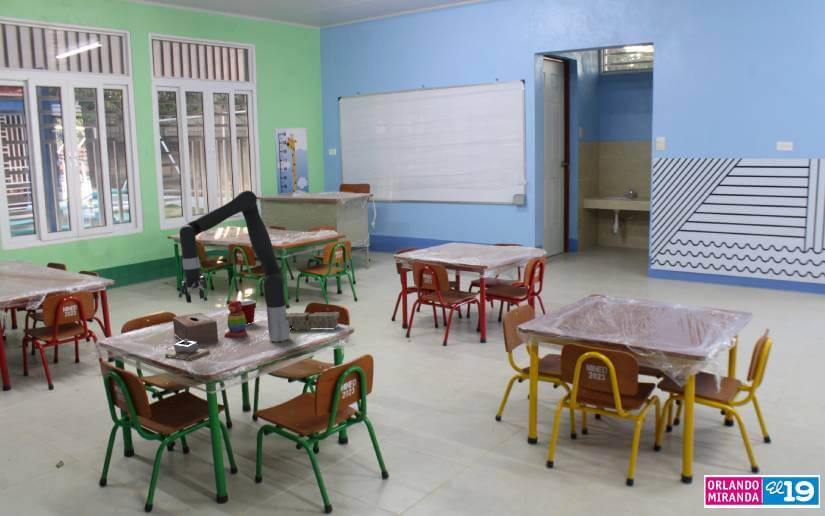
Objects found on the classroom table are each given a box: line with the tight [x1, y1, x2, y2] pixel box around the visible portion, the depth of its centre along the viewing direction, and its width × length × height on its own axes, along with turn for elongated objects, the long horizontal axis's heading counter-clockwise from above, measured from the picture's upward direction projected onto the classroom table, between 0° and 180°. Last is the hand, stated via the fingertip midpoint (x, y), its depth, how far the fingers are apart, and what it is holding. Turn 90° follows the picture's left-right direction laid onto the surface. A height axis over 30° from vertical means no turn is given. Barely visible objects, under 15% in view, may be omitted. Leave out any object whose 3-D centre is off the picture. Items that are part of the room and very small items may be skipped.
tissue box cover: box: [172, 312, 219, 345], centre depth 367 cm, size 26×14×10 cm, turn 34°
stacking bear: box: [224, 300, 248, 339], centre depth 369 cm, size 11×10×18 cm
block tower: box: [286, 311, 340, 330], centre depth 376 cm, size 8×8×29 cm
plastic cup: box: [241, 299, 257, 324], centre depth 392 cm, size 11×11×12 cm
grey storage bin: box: [173, 340, 199, 355], centre depth 338 cm, size 9×6×4 cm, turn 61°
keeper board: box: [164, 339, 210, 361], centre depth 338 cm, size 16×12×8 cm
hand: (195, 300), depth 345 cm, fingers open, 8 cm apart
